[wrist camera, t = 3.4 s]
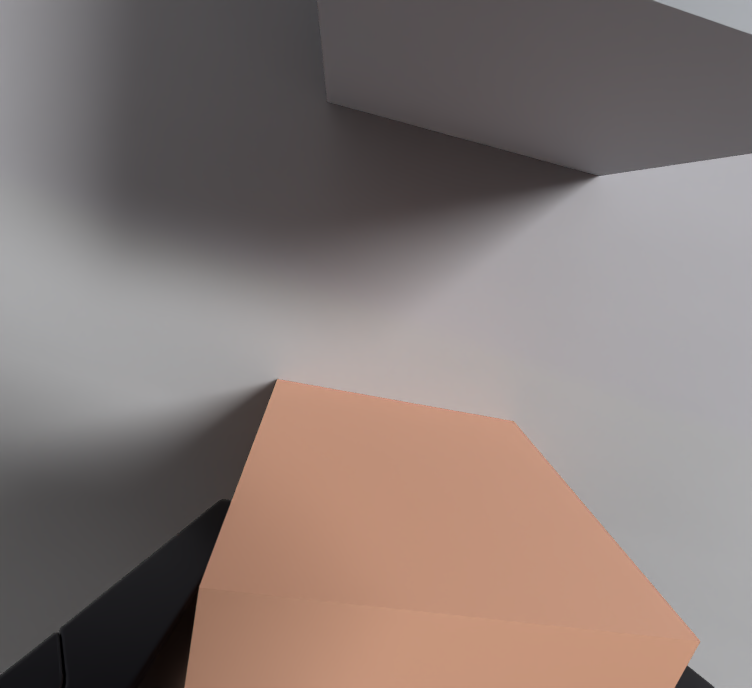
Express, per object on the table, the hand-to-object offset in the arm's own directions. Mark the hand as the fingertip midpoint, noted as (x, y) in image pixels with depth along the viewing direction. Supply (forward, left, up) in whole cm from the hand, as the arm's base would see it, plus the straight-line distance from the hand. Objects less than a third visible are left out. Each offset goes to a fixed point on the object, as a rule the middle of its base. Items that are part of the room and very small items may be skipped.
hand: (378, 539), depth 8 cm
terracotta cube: (0, 0, -1) cm, 1 cm away
